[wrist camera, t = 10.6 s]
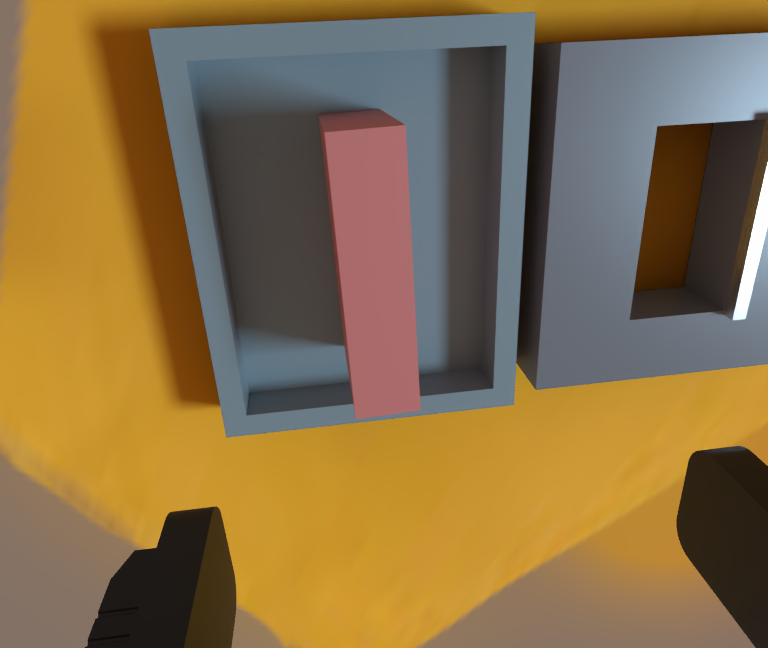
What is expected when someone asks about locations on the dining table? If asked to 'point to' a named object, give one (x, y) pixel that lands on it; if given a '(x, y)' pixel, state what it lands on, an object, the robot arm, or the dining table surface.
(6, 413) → the dining table surface
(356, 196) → the pink block
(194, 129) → the tray
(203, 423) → the dining table surface
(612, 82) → the grey square-hole plate
